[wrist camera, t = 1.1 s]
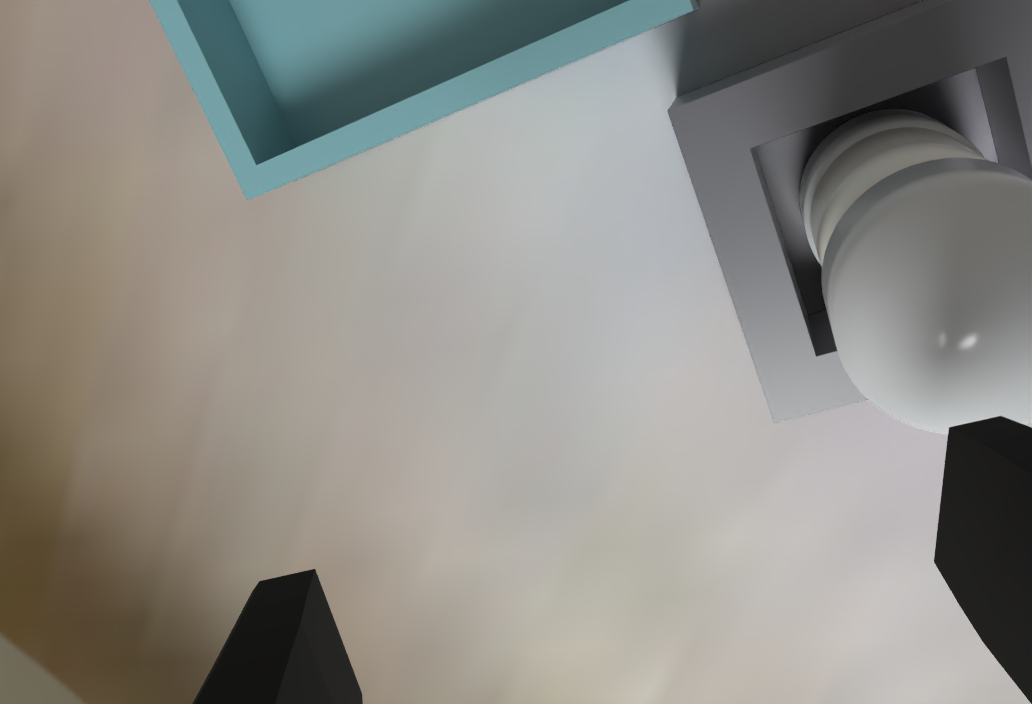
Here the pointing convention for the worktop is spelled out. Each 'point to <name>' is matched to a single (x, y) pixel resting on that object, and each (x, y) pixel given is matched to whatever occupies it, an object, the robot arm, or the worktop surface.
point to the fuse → (924, 269)
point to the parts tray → (371, 67)
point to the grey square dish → (813, 100)
